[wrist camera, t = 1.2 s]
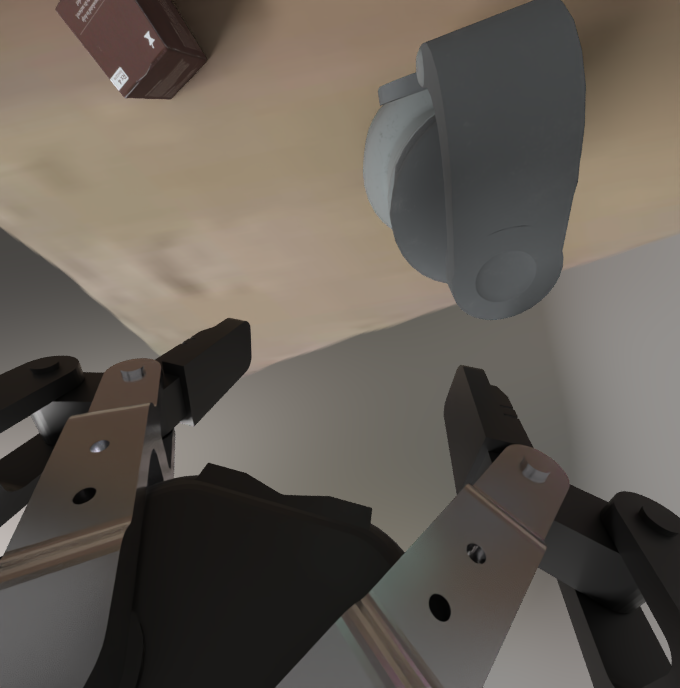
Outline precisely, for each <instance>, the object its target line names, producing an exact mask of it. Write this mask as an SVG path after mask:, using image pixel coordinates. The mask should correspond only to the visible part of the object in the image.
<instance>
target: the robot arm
mask: <svg viewBox="0 0 680 688" xmlns="http://www.w3.org/2000/svg"><path fill="white" fill-rule="evenodd" d="M250 363H251V330H250V324H249V323H248V322H247V321H243V320H238V319H233V318H227V319H225V320H224V321H222V322H221V323H219V324H218V325H216V326H215V327H212V328H209V329H206V330H203V331H200V332H198V333H197V334H195V335H194V336H192V337H191V338H190V339H187V340H186V341H184V342H183V343H182V344H179V345H178V346H176V347H175V348H173V349H171V350H170V351H168V352H167V353H165V354H163V355H162V356H160V357H159V358H157V359H156V360H153V359H147V358H140V359H131V360H127V361H123V362H120V363H118V364H115V365H113V366H112V367H110V368H109V369H107V370H106V372H104V373H91V372H89V373H88V372H87V373H86V372H83V371H82V369H81V366H80V363H79V361H78V359H76V358H74V357H71V356H51V357H45V358H40V359H37V360H33V361H31V362H28V363H25V364H23V365H21V366H19V367H16V368H14V369H12V370H10V371H7V372H5V373H3V374H1V375H0V433H2V432H3V431H5V430H7V429H8V428H10V427H12V426H13V425H15V424H16V423H18V422H20V421H22V420H23V419H25V418H27V417H28V416H31V417H32V419H33V421H34V423H35V425H36V427H37V429H38V431H39V434H37V435H36V436H35V437H33V438H32V439H30V440H29V441H27V442H26V443H24V444H23V445H21V446H20V447H18V448H17V449H15V450H14V451H12V452H11V453H9V454H8V455H6V456H5V457H3V458H2V459H0V527H1V526H2V525H3V524H4V523H6V522H7V521H8V520H9V519H10V518H12V517H13V516H14V515H15V514H16V513H17V512H19V511H20V510H21V509H22V508H23V507H24V506H26V505H27V506H26V508H25V511H24V513H23V515H22V517H21V519H20V521H19V523H18V525H17V528H16V530H15V532H14V534H13V536H12V538H11V540H10V542H9V545H8V546H7V549H6V551H5V553H4V555H3V556H1V557H0V688H483V685H484V683H485V681H486V679H487V677H488V674H489V672H490V670H491V668H492V666H493V663H494V661H495V659H496V657H497V655H498V653H499V650H500V648H501V646H502V644H503V642H504V639H505V637H506V635H507V633H508V631H509V629H510V627H511V624H512V622H513V620H514V618H515V616H516V614H517V611H518V609H519V607H520V605H521V603H522V601H523V598H524V596H525V594H526V592H527V590H528V588H529V585H530V583H531V581H532V579H533V577H534V575H535V572H536V570H537V568H540V569H542V570H544V571H545V572H547V573H548V574H550V575H552V576H554V577H555V578H557V581H558V584H559V586H560V589H561V592H562V595H563V598H564V601H565V604H566V607H567V610H568V613H569V616H570V619H571V622H572V625H573V627H574V630H575V633H576V636H577V639H578V642H579V645H580V648H581V651H582V654H583V657H584V660H585V662H586V666H587V668H588V671H589V674H590V677H591V680H592V683H593V686H594V688H680V518H679V517H678V516H677V515H675V514H674V513H673V512H671V511H670V510H668V509H667V508H665V507H664V506H662V505H661V504H659V503H657V502H655V501H653V500H651V499H649V498H647V497H645V496H642V495H639V494H636V493H632V492H626V491H623V492H619V493H617V494H616V495H615V496H614V497H613V498H612V499H611V500H610V501H609V502H607V501H604V500H602V499H600V498H598V497H596V496H594V495H592V494H589V493H587V492H585V491H583V490H581V489H579V488H576V487H574V486H572V485H570V484H569V479H568V477H567V475H566V473H565V472H564V470H563V469H562V468H561V467H560V466H559V465H558V464H557V463H556V462H555V461H554V460H553V459H551V458H550V457H549V456H547V455H546V454H544V453H542V452H540V451H539V450H536V449H534V448H533V446H532V444H531V442H530V440H529V438H528V436H527V434H526V432H525V430H524V428H523V426H522V424H521V422H520V420H519V419H517V415H516V412H515V410H513V407H512V405H511V403H510V401H509V399H508V397H507V396H506V395H505V394H504V393H503V392H502V391H501V390H500V389H499V388H498V387H497V386H493V385H490V383H489V381H488V379H487V376H486V374H485V372H484V370H483V369H478V368H473V367H469V366H464V365H460V366H459V367H458V369H457V371H456V374H455V376H454V379H453V382H452V384H451V387H450V390H449V393H448V396H447V398H446V401H445V406H444V420H445V426H446V432H447V438H448V444H449V450H450V456H451V463H452V469H453V475H454V480H455V487H456V493H457V496H456V497H455V498H454V499H453V500H452V501H451V502H450V503H449V505H448V506H447V507H446V508H445V509H444V510H443V511H442V512H441V514H440V515H439V516H438V517H437V518H436V519H435V520H434V521H433V522H432V524H431V525H430V526H429V527H428V528H427V529H426V530H425V531H424V532H423V533H422V534H421V536H420V537H419V538H418V539H417V540H416V541H415V542H414V543H413V544H412V546H411V547H410V548H409V549H408V550H407V551H406V552H404V551H403V550H402V549H401V548H400V547H399V546H398V544H397V543H396V542H395V541H393V540H392V539H391V538H390V537H389V536H388V535H387V534H386V533H384V532H383V531H382V530H380V529H379V528H378V527H376V526H374V525H372V524H371V523H370V522H371V514H372V508H370V507H366V506H363V505H359V504H356V503H352V502H348V501H345V500H341V499H338V498H334V497H330V496H298V495H297V496H296V495H283V494H280V493H278V492H276V491H275V490H273V489H272V488H270V487H268V486H266V485H265V484H263V483H262V482H260V481H258V480H257V479H255V478H253V477H252V476H250V475H248V474H247V473H244V472H240V471H236V470H233V469H229V468H226V467H222V466H219V465H215V464H211V463H208V464H207V465H206V466H205V468H204V469H203V470H202V472H201V473H200V474H199V475H195V476H184V477H179V478H174V463H175V462H174V461H175V429H174V427H175V426H176V425H177V424H178V423H182V424H186V425H190V426H195V425H196V424H197V423H198V422H199V421H200V420H201V418H202V417H203V416H204V415H205V414H206V413H207V412H208V411H209V410H210V409H211V408H212V407H213V406H214V405H215V404H216V403H217V402H218V401H219V399H220V398H222V396H223V395H224V394H225V393H226V392H227V391H228V390H229V389H230V388H231V387H232V386H233V385H234V384H235V383H236V382H237V381H238V380H239V378H241V376H242V375H243V374H244V373H245V372H246V371H247V370H248V368H249V366H250ZM645 602H646V603H647V605H648V606H649V608H650V610H651V612H652V613H653V615H654V617H655V619H656V621H657V623H658V624H659V626H660V628H661V630H662V632H663V634H664V636H665V638H666V640H667V642H668V645H669V648H670V651H671V657H672V665H671V664H670V662H669V660H668V659H667V657H666V655H665V653H664V651H663V649H662V647H661V645H660V643H659V641H658V639H657V638H656V636H655V634H654V632H653V630H652V628H651V626H650V624H649V622H648V620H647V619H646V617H645V615H644V613H643V611H642V609H641V607H640V606H641V605H642V604H643V603H645Z"/></svg>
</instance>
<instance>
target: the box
mask: <svg viewBox="0 0 680 688" xmlns="http://www.w3.org/2000/svg"><path fill="white" fill-rule="evenodd" d="M56 11H57V13H58V14H59V15H60V17H61V18H62V19H63V20H64V22H65V23H66V24H67V25H68V27H69V28H70V29H71V30H72V32H73V33H74V34H75V36H76V37H77V38H78V39H79V41H80V42H81V43H82V44H83V46H84V47H85V48H86V49H87V51H88V52H89V53H90V55H91V56H92V57H93V58H94V60H95V61H96V62H97V64H98V65H99V66H100V67H101V69H102V70H103V71H104V73H105V74H106V75H107V76H108V78H109V79H110V80H111V82H112V83H113V84H114V85H115V87H116V88H117V89H118V90H119V92H120V93H121V94H122V95H123V97H124V98H145V99H171V98H172V97H173V96H174V95H175V94H176V93H177V92H178V91H179V90H180V89H181V88H182V87H183V85H184V84H185V83H186V82H187V81H188V80H189V79H190V78H191V77H192V76H193V75H194V74H195V73H196V72H197V71H198V70H199V69H200V67H201V66H202V65H203V64H204V63H205V62H206V61H207V58H206V56H205V55H204V53H203V52H202V50H201V48H200V47H199V45H198V43H197V42H196V40H195V39H194V37H193V35H192V34H191V32H190V31H189V29H188V27H187V26H186V24H185V22H184V21H183V19H182V18H181V16H180V14H179V13H178V11H177V10H176V8H175V6H174V5H173V3H172V1H171V0H60V2H59V3H58V5H57V7H56Z"/></svg>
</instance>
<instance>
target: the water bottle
mask: <svg viewBox="0 0 680 688" xmlns="http://www.w3.org/2000/svg"><path fill="white" fill-rule="evenodd" d="M585 94H586V83H585V74H584V65H583V56H582V48H581V45H580V41H579V37H578V34H577V30H576V26H575V22H574V19H573V18H572V16H571V15H570V13H569V11H568V10H567V8H566V7H565V5H564V3H563V2H562V1H561V0H533V1H531V2H528V3H526V4H523V5H521V6H518V7H515V8H513V9H510V10H508V11H505V12H502V13H500V14H497V15H495V16H492V17H490V18H487V19H484V20H482V21H479V22H477V23H474V24H472V25H469V26H466V27H464V28H461V29H459V30H456V31H453V32H451V33H448V34H446V35H443V36H441V37H438V38H435V39H433V40H430V41H428V42H425V43H423V44H422V45H421V46H420V48H419V51H418V54H417V58H416V73H413V74H411V75H408V76H405V77H402V78H400V79H397V80H395V81H392V82H390V83H387V84H385V85H383V86H381V87H379V90H378V95H379V102H380V105H383V104H384V105H383V106H382V107H381V108H380V109H379V110H378V112H377V114H376V115H375V117H374V119H373V120H372V123H371V125H370V128H369V130H368V134H367V139H366V144H365V151H364V162H363V177H364V186H365V189H366V193H367V196H368V199H369V202H370V204H371V206H372V207H373V209H374V211H375V213H376V214H377V215H378V217H379V218H380V219H381V220H382V222H384V223H385V224H386V225H387V226H388V227H390V228H391V229H392V230H393V233H394V237H395V241H396V243H397V245H398V247H399V249H400V251H401V253H402V255H403V257H404V258H405V259H406V260H407V261H408V263H409V264H410V265H411V266H412V267H413V268H414V269H416V270H417V271H418V272H420V273H421V274H422V275H424V276H426V277H429V278H431V279H433V280H435V281H439V282H443V283H447V284H448V286H449V288H450V290H451V292H452V295H453V297H454V299H455V301H456V303H457V305H458V306H459V307H460V308H461V309H462V310H463V311H464V312H466V313H467V314H469V315H471V316H473V317H476V318H479V319H485V320H497V319H504V318H508V317H512V316H515V315H517V314H520V313H522V312H524V311H526V310H528V309H530V308H531V307H533V306H534V305H536V304H537V303H538V302H540V301H541V300H542V299H543V298H544V297H545V296H546V295H547V294H548V293H549V292H550V290H551V289H552V288H553V287H554V285H555V284H556V282H557V280H558V278H559V276H560V273H561V270H562V267H563V252H562V250H563V245H564V240H565V235H566V230H567V225H568V220H569V215H570V210H571V205H572V200H573V196H574V192H575V189H576V186H577V182H578V175H579V166H580V158H581V151H582V143H583V134H584V126H585Z"/></svg>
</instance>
